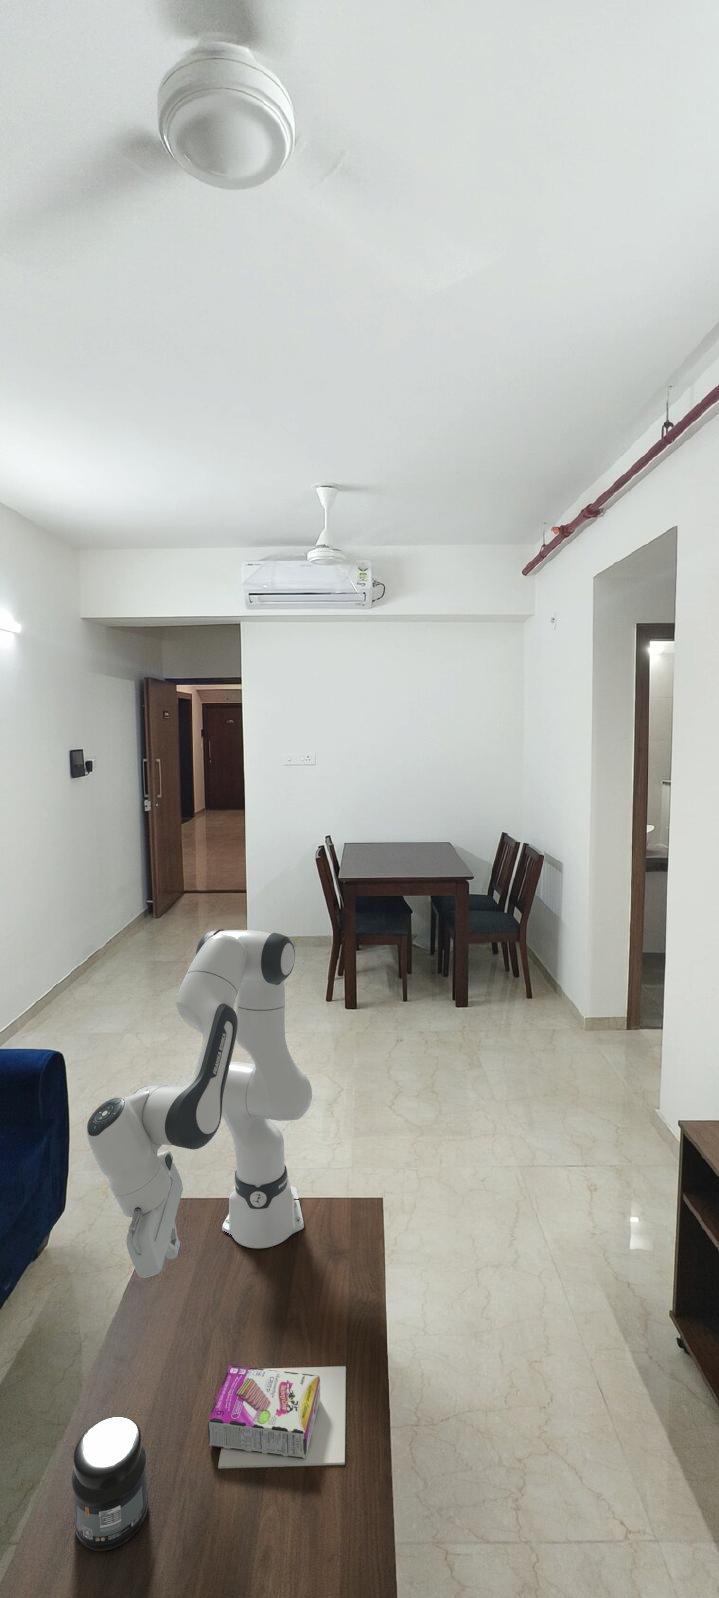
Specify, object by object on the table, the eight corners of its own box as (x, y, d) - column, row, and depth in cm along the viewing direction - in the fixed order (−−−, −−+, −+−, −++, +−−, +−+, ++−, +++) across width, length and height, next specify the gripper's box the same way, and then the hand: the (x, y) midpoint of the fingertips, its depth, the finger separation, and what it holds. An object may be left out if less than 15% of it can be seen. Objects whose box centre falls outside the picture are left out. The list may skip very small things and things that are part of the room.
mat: (235, 1371, 139) (235, 1369, 139) (345, 1368, 139) (345, 1366, 139) (218, 1468, 121) (218, 1466, 121) (344, 1464, 121) (344, 1462, 121)
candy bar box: (228, 1362, 135) (320, 1373, 132) (229, 1388, 135) (320, 1399, 133) (206, 1420, 124) (306, 1433, 121) (207, 1448, 124) (307, 1461, 122)
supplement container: (119, 1469, 122) (114, 1400, 120) (164, 1507, 116) (159, 1435, 114) (59, 1527, 113) (54, 1454, 112) (104, 1572, 107) (99, 1495, 106)
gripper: (145, 1230, 121) (180, 1297, 124) (172, 1144, 141) (201, 1204, 144) (108, 1242, 122) (143, 1309, 125) (140, 1155, 142) (170, 1214, 145)
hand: (174, 1252), depth 135 cm, fingers closed
